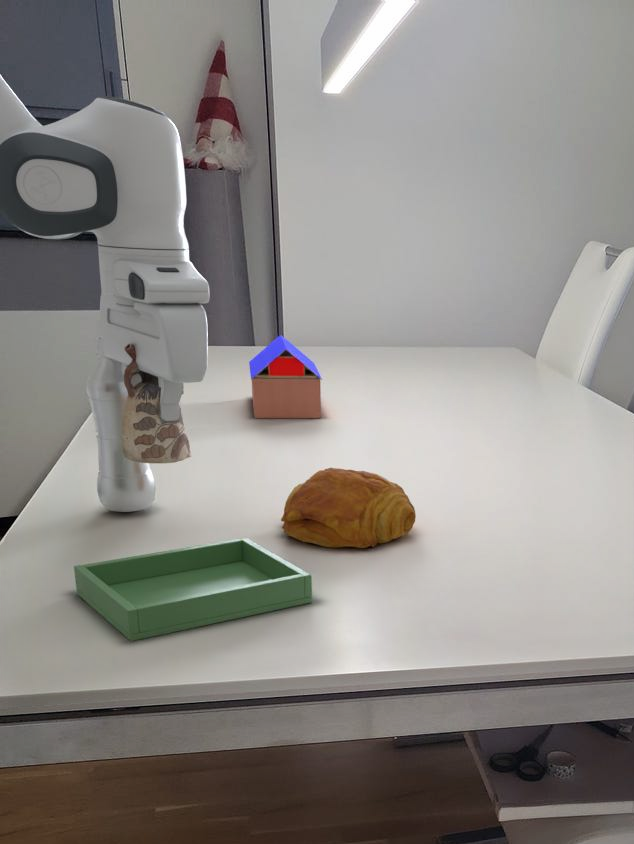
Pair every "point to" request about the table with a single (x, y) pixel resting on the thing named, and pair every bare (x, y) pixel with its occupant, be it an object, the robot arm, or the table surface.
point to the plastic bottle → (115, 441)
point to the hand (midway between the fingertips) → (154, 413)
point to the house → (284, 383)
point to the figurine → (149, 421)
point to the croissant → (347, 510)
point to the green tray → (191, 587)
